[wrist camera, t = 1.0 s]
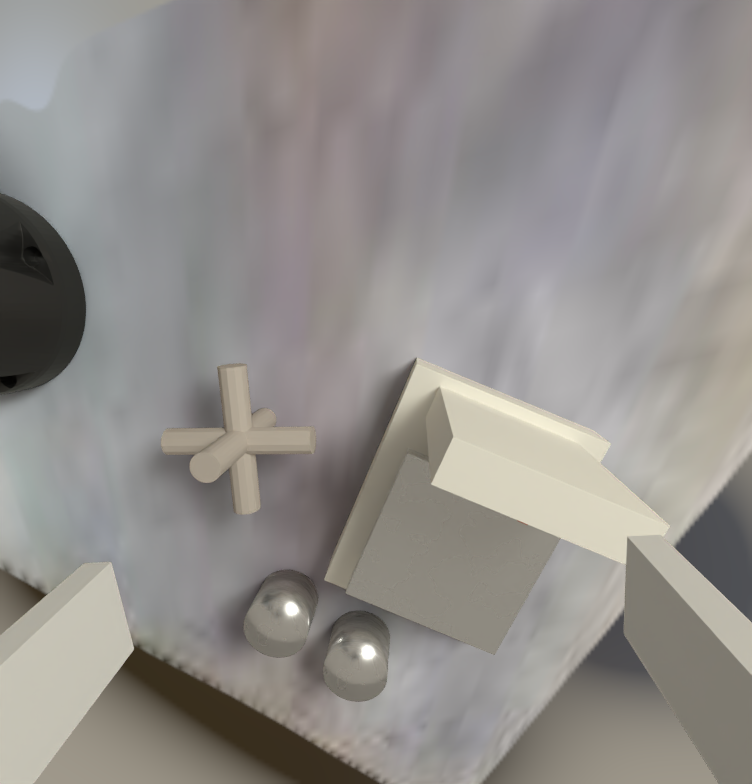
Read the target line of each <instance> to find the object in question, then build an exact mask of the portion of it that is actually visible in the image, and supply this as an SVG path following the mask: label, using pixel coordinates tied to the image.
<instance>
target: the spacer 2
mask: <svg viewBox="0 0 752 784" xmlns="http://www.w3.org/2000/svg"><path fill="white" fill-rule="evenodd" d="M389 646H390V633H389V630H388V627H387V626H386V624H385V623H384V622H383V621H382V620H381V619H380V618H379V617H378V616H376V615H374V614H372V613H369V612H366V611H352V612H348V613H346V614H344V615H342V616H341V617H340V618H339V619H338V620H337V621H336V622H335V624H334V627H333V630H332V634H331V638H330V642H329V646H328V650H327V654H326V658H325V662H324V666H323V677H324V680H325V683H326V684H327V686H328V687H329V689H330V690H331V691H332V692H333V693H335V694H336V695H337V696H339V697H341V698H343V699H346V700H349V701H355V702H360V701H367V700H370V699H372V698H374V697H376V696H378V695H379V694H380V693H381V692H382V691H383V689H384V687H385V685H386V682H387V672H388V659H389Z"/></svg>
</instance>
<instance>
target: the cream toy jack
mask: <svg viewBox="0 0 752 784" xmlns="http://www.w3.org/2000/svg"><path fill="white" fill-rule="evenodd" d="M217 369H218V377H219V386H220V395H221V403H222V412H223V421H224V428H169V429H166V430H165V431H164V432H163V435H162V438H161V447H162V450H163V452H164V453H165V454H166V455H194V456H193V457H192V459H191V461H190V471H191V473H192V475H193V476H194V477H195V479H197V480H198V481H200V482H203V483H211V482H213V481H215V480H216V479H218V478H219V477H220V476H221V475H222V474H223V473H224V472H225V471H226V470H227V469H229V473H230V482H231V490H232V499H233V508H234V512H235V513H236V514H241V515H244V514H251V513H254V512H256V511H258V510H259V509H260V507H261V503H260V493H259V483H258V473H257V463H256V454H313V453H314V451H315V447H316V433H315V429H314V427H274V426H275V424H276V416H275V414H274V413H273V412H272V411H271V410H270V409H267V408H261V409H259V410H257V411H256V412H255V413H253V414H252V413H251V404H250V394H249V384H248V374H247V364H227V365H221V366H218V367H217Z"/></svg>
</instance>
